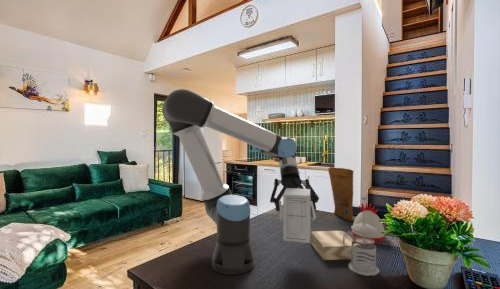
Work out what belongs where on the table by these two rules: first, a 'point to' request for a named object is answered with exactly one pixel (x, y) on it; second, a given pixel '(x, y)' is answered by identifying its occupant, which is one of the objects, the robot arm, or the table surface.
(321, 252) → the oak riser
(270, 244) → the table surface
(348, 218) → the pancake mix bag
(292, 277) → the table surface
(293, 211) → the supplement box
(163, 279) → the table surface
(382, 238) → the crested helmet
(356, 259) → the french press
